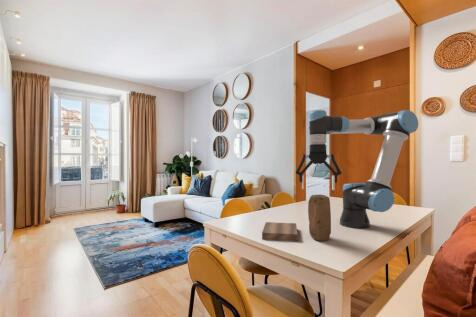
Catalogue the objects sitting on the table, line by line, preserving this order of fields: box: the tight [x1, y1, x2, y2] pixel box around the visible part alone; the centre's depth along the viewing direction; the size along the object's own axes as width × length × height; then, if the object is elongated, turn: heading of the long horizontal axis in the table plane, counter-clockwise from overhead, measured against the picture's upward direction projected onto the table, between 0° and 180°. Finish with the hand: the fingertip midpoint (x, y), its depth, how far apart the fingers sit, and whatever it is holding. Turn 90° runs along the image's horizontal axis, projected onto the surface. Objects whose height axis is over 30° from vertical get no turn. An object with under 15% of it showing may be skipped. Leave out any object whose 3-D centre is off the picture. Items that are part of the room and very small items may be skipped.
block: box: [307, 194, 332, 242], centre depth 116 cm, size 11×8×20 cm
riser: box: [261, 221, 298, 242], centre depth 123 cm, size 16×19×3 cm
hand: (317, 189), depth 115 cm, fingers open, 13 cm apart
